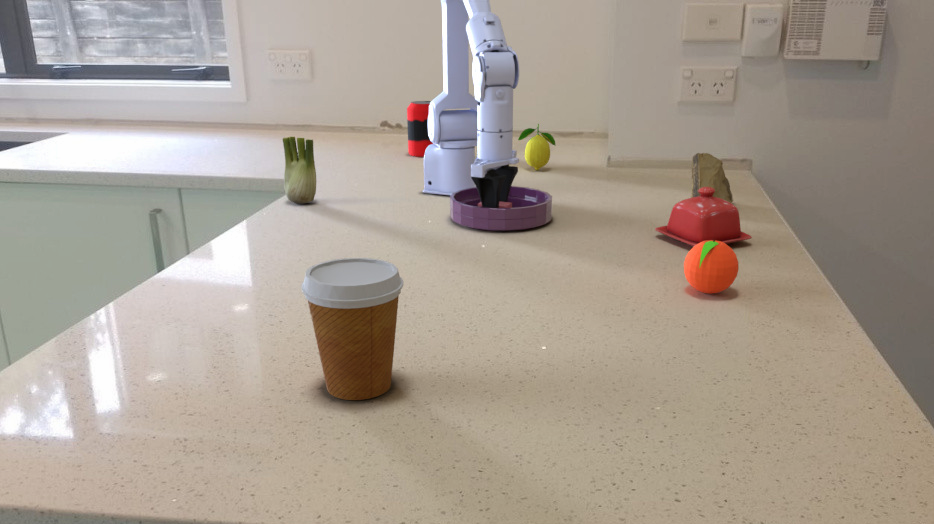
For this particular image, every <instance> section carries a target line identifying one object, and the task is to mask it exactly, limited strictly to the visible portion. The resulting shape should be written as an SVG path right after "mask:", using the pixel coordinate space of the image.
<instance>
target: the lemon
mask: <svg viewBox="0 0 934 524" xmlns="http://www.w3.org/2000/svg"><path fill="white" fill-rule="evenodd" d="M539 128H540V123H537V127H536V128H533V127H528V128H526V129H523V130H522V132H521V133H520V135H519V137H518V139H517V141H522V140H524V139H526V138H527V137H529V136H530V135H532V134H533V133H534V132H535V131H537V133H536V135H534V136H532V137H531V138H530V139H529V140H528V141H527V143H526V145H525V147H524V148H525V149H524V158H525V162H526V164H527V165H529V167H531V168H533V169H534V170H535V171H540V170H541V169H542V168H543V167H545V166H546V165H547V164H548V163H549V161H550V158H551V147H550V144H551V145H553V146H556V140H555V138H554V136H553V135H552V134H551V133H549V132H541V131H540V130H539ZM539 133H540V134H539Z"/></svg>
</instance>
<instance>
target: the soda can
mask: <svg viewBox="0 0 934 524" xmlns="http://www.w3.org/2000/svg"><path fill="white" fill-rule="evenodd" d="M431 101H432V100H414V101H411V102H410V103H409V105H408V106H407V108H406V119H407V120H406V121H407V122H406V123H407V148H408V150H407V151H408V154H409V156H410V157H411V156H412V157H416V158H424V154H425V150H426V148H427V147H428V146H429V145H431V144H433V143H432V142H431V141H430V138H429V134H428V115H429V105H430V102H431Z"/></svg>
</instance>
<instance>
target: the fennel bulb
mask: <svg viewBox="0 0 934 524" xmlns="http://www.w3.org/2000/svg"><path fill="white" fill-rule="evenodd" d="M282 143H283V145H282V146H283V153H284V174H283V182H284V183H283V185H284V193H285V196H286V198H287V199H288V201H290V202H292V203H294V204H300V205H301V204H307V203H312V202H314V200H315V196H316V193H317V169H316V163H315V156H314V155H315V154H314V139H312V138H305V137H297V138H296V137H295V136H286V137H285V136H284V137H283V138H282Z"/></svg>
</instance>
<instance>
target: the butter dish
mask: <svg viewBox="0 0 934 524" xmlns="http://www.w3.org/2000/svg"><path fill="white" fill-rule="evenodd" d="M698 192H699V193H700V196H698V197H692V198H691V197H688V198H685V199H682V200H680V201H678V202H677V203H675V204H674V205H673V207H672V209H671V212H670V214H669V218H668V221H667V224H666V225H662V226H657V227H656V228H655V229H654V230H655V231H656V232H658V233H660V234H662V235H665V236H667V237H670V238H671V239H673V240H676V241H678V242H681V243H683V244H686V245H688V246H691V247H692V248H693V247H694V246H695V245H697V244H699V243H700V242H703V241H706V240H714V239H715V240H716V241H721V242H724V243H725V244H727V245H729V244H734V243H736V242H737V243H738V242H742V241H743V242H744V241H747V240H750V239H752V238H753V237H752V235H750V234H749V233H746V232H744V231H742V229H741V219H740V212H739V209H738V207H737V206H736V205H735V204H733V203H729V202H728V201H725V200H723V199H720V198H717V197H713V194H714V192H715V189H713V188H711V187H702V188H700V189H699V190H698Z"/></svg>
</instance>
